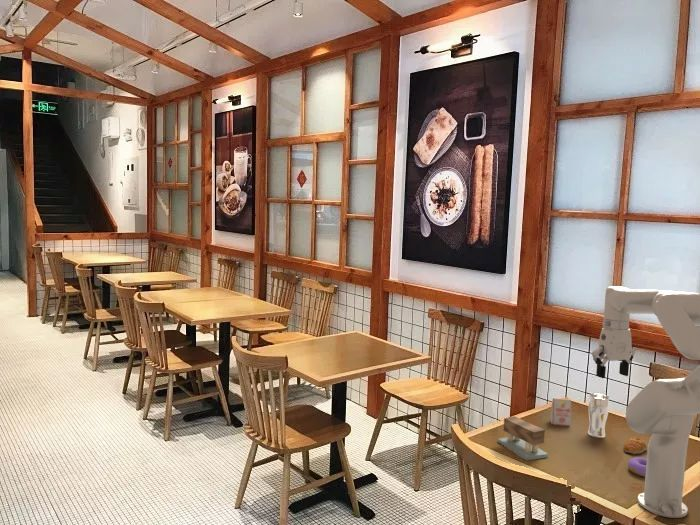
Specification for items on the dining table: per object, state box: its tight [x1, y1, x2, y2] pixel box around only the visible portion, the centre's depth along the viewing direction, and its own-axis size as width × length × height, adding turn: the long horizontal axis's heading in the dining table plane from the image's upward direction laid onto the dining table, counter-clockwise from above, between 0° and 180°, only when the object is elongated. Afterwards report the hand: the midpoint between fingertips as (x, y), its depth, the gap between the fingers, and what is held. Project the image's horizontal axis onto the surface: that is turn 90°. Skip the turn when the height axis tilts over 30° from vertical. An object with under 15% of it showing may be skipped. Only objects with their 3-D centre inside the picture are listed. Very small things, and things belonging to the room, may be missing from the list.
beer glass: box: [587, 392, 610, 439], centre depth 214 cm, size 7×7×15 cm
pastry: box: [623, 437, 648, 455], centre depth 202 cm, size 9×7×4 cm
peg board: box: [497, 433, 549, 461], centre depth 199 cm, size 16×9×5 cm, turn 20°
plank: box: [502, 415, 545, 445], centre depth 199 cm, size 14×5×4 cm, turn 29°
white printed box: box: [550, 398, 572, 427], centre depth 225 cm, size 4×7×10 cm, turn 80°
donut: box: [627, 456, 647, 478], centre depth 185 cm, size 10×9×5 cm
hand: (612, 376), depth 186 cm, fingers open, 9 cm apart
